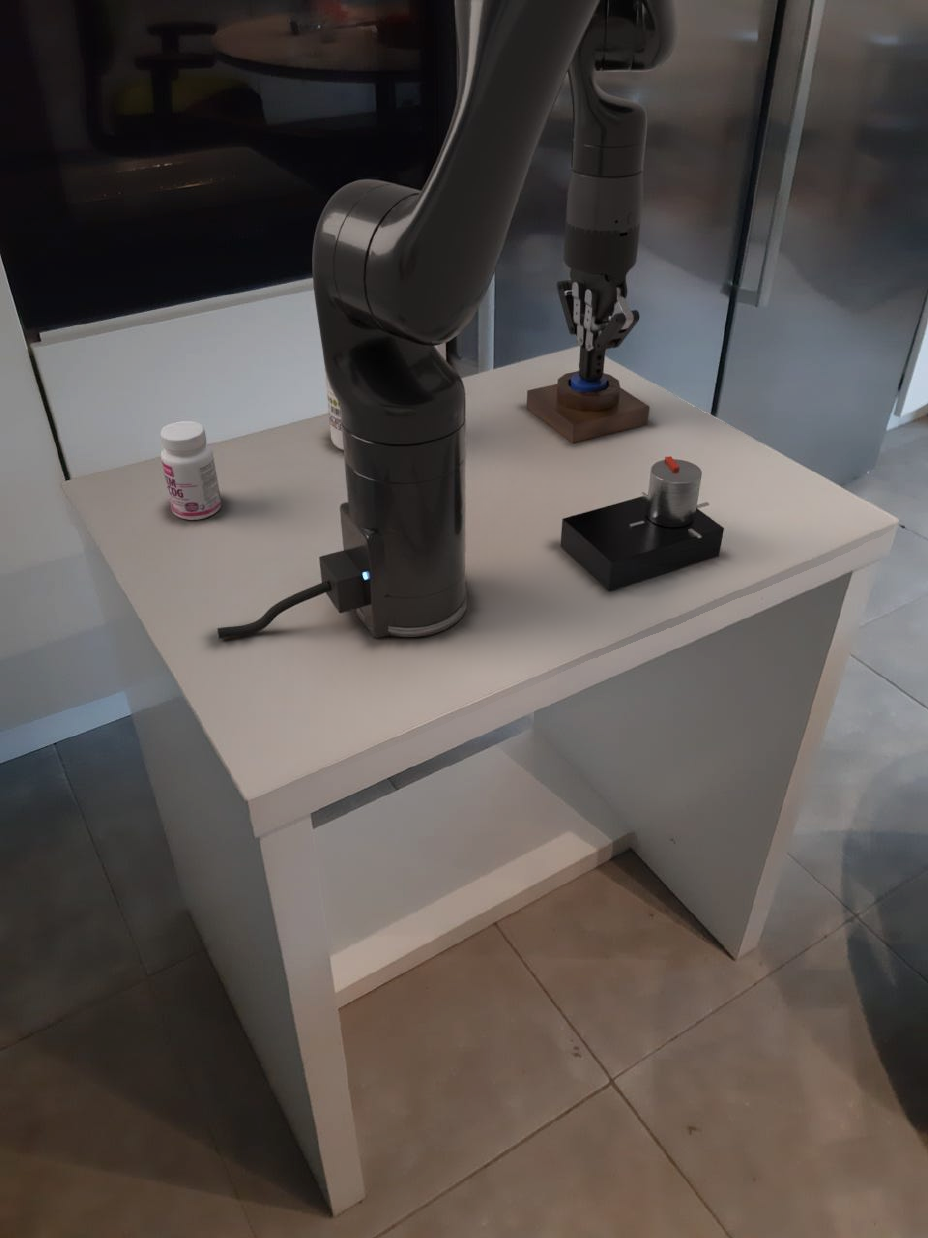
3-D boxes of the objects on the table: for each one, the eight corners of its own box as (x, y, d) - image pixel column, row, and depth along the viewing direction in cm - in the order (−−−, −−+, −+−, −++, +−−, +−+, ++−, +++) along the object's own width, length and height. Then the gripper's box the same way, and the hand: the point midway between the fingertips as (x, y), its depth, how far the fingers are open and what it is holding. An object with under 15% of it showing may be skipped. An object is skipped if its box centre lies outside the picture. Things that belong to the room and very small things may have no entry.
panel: (610, 593, 84) (614, 562, 82) (558, 544, 90) (560, 515, 89) (732, 554, 89) (738, 524, 87) (675, 510, 95) (679, 482, 93)
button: (582, 406, 108) (583, 389, 107) (563, 392, 111) (564, 375, 110) (612, 399, 110) (614, 382, 109) (592, 386, 113) (594, 369, 111)
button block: (572, 443, 107) (574, 409, 104) (526, 407, 114) (527, 375, 111) (647, 424, 110) (651, 391, 108) (598, 391, 117) (601, 359, 115)
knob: (702, 524, 87) (710, 477, 85) (655, 530, 87) (662, 482, 84) (683, 500, 91) (691, 453, 88) (638, 505, 90) (644, 458, 87)
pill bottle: (162, 516, 94) (145, 437, 89) (188, 493, 98) (173, 415, 93) (206, 524, 93) (191, 444, 88) (230, 500, 97) (217, 422, 92)
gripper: (537, 205, 102) (531, 364, 113) (608, 239, 93) (594, 408, 103) (598, 196, 105) (586, 352, 115) (673, 228, 95) (652, 394, 106)
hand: (590, 378), depth 109 cm, fingers closed
